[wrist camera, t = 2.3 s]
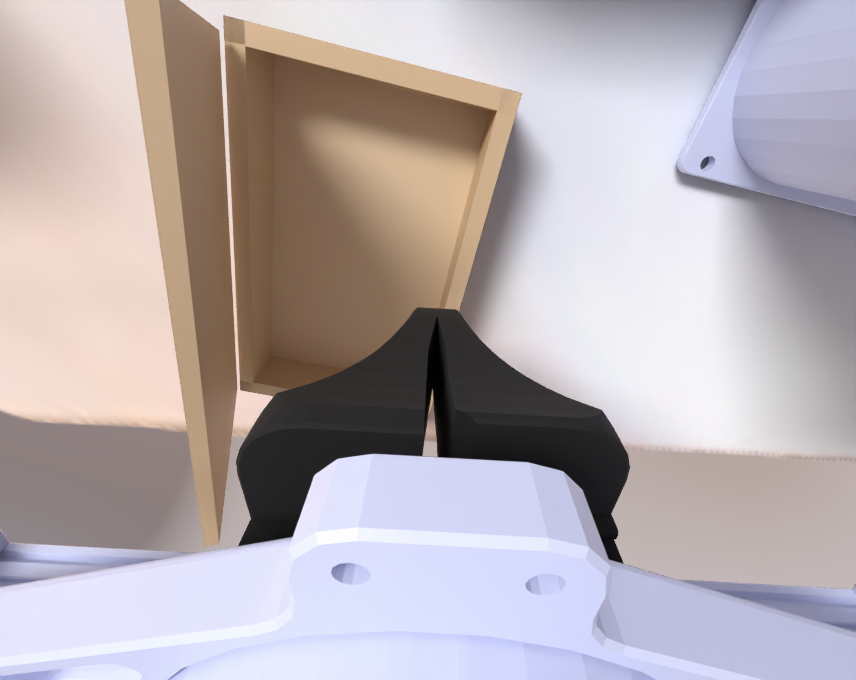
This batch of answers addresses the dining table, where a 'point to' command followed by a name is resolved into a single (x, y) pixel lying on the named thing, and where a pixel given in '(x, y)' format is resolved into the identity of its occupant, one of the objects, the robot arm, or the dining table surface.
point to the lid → (191, 225)
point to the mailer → (349, 197)
